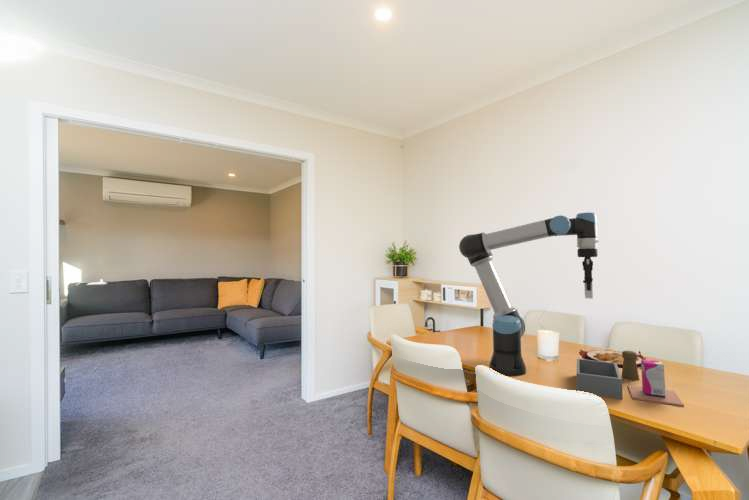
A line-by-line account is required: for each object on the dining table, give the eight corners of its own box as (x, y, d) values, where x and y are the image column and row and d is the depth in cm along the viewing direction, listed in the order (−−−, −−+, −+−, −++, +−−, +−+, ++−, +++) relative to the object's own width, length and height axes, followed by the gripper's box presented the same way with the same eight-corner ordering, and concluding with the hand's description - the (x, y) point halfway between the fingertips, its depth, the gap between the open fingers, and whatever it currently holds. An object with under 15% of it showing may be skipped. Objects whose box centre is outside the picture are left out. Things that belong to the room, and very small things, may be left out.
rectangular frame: (576, 392, 132) (576, 373, 133) (577, 375, 152) (576, 358, 152) (622, 399, 125) (622, 379, 126) (616, 380, 145) (616, 362, 145)
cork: (642, 380, 144) (641, 353, 144) (625, 379, 145) (624, 352, 145) (634, 375, 150) (633, 349, 150) (618, 375, 151) (617, 349, 151)
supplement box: (661, 392, 130) (660, 360, 130) (665, 398, 125) (664, 365, 125) (641, 389, 132) (640, 358, 133) (645, 395, 127) (644, 362, 127)
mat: (632, 398, 126) (632, 397, 126) (627, 386, 138) (627, 384, 138) (683, 406, 119) (683, 404, 119) (674, 392, 131) (674, 391, 131)
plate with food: (580, 353, 188) (579, 346, 188) (641, 357, 177) (640, 350, 177) (586, 367, 166) (585, 359, 166) (656, 372, 155) (656, 364, 155)
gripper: (598, 247, 144) (600, 300, 143) (596, 248, 165) (597, 294, 165) (577, 247, 147) (578, 299, 147) (577, 248, 169) (578, 293, 169)
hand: (588, 296), depth 156 cm, fingers open, 13 cm apart
